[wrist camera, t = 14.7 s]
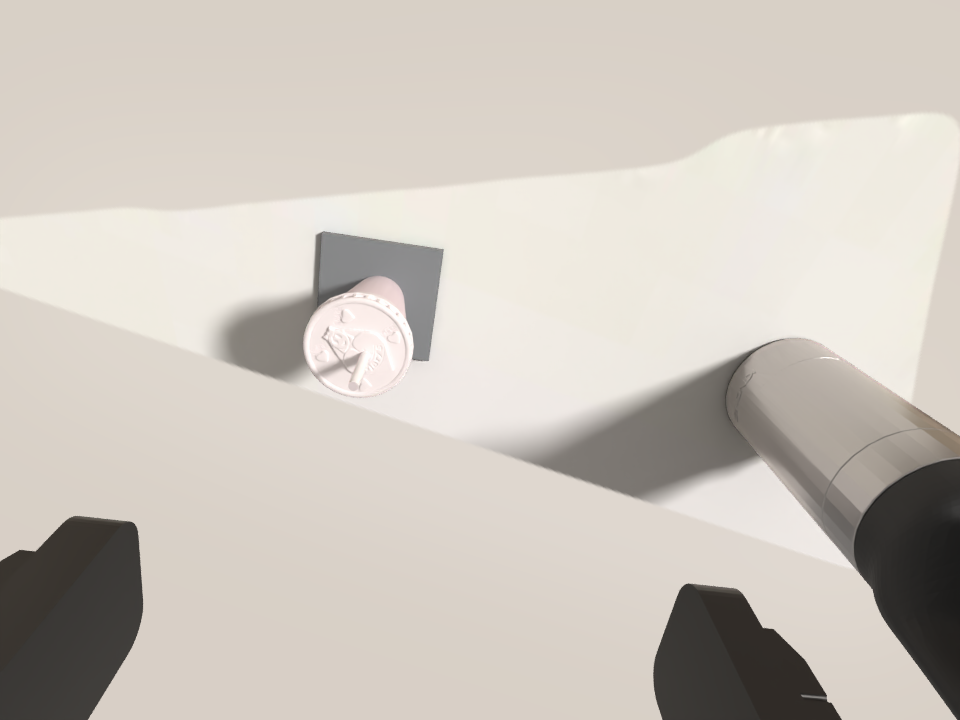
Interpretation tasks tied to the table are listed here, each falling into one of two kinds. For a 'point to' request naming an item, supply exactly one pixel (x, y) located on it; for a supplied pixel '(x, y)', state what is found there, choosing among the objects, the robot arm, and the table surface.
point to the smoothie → (360, 339)
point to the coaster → (399, 262)
